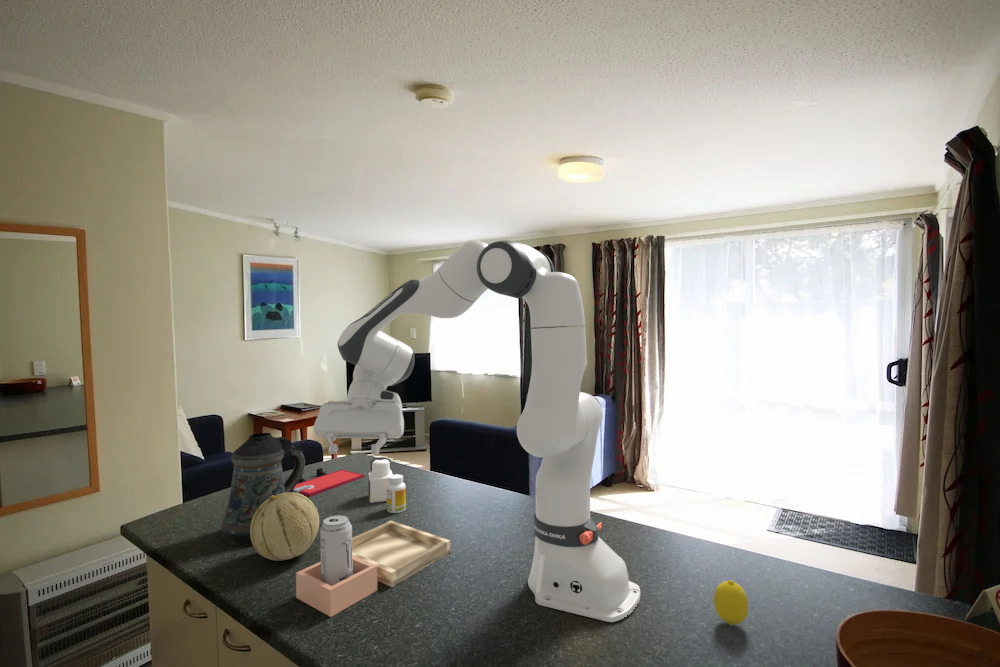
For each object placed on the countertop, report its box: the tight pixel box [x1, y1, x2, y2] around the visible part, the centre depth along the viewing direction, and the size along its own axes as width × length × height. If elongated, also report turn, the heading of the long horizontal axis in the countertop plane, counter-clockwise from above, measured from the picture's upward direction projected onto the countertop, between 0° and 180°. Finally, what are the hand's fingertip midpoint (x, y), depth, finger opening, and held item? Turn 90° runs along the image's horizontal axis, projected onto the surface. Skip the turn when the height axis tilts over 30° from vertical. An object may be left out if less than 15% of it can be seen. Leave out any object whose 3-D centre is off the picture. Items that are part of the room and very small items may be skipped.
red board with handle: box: [291, 467, 365, 498], centre depth 165 cm, size 30×3×15 cm
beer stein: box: [220, 432, 306, 546], centre depth 131 cm, size 16×19×25 cm
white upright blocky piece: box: [367, 456, 394, 504], centre depth 153 cm, size 7×7×12 cm
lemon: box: [713, 579, 749, 626], centre depth 90 cm, size 6×6×8 cm
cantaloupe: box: [250, 492, 320, 562], centre depth 116 cm, size 15×15×15 cm
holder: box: [295, 556, 378, 618], centre depth 100 cm, size 11×11×5 cm
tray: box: [352, 520, 451, 588], centre depth 116 cm, size 20×18×3 cm
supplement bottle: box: [386, 473, 407, 514], centre depth 144 cm, size 5×5×10 cm
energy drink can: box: [319, 514, 353, 586], centre depth 100 cm, size 6×6×15 cm
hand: (353, 453), depth 112 cm, fingers open, 8 cm apart
